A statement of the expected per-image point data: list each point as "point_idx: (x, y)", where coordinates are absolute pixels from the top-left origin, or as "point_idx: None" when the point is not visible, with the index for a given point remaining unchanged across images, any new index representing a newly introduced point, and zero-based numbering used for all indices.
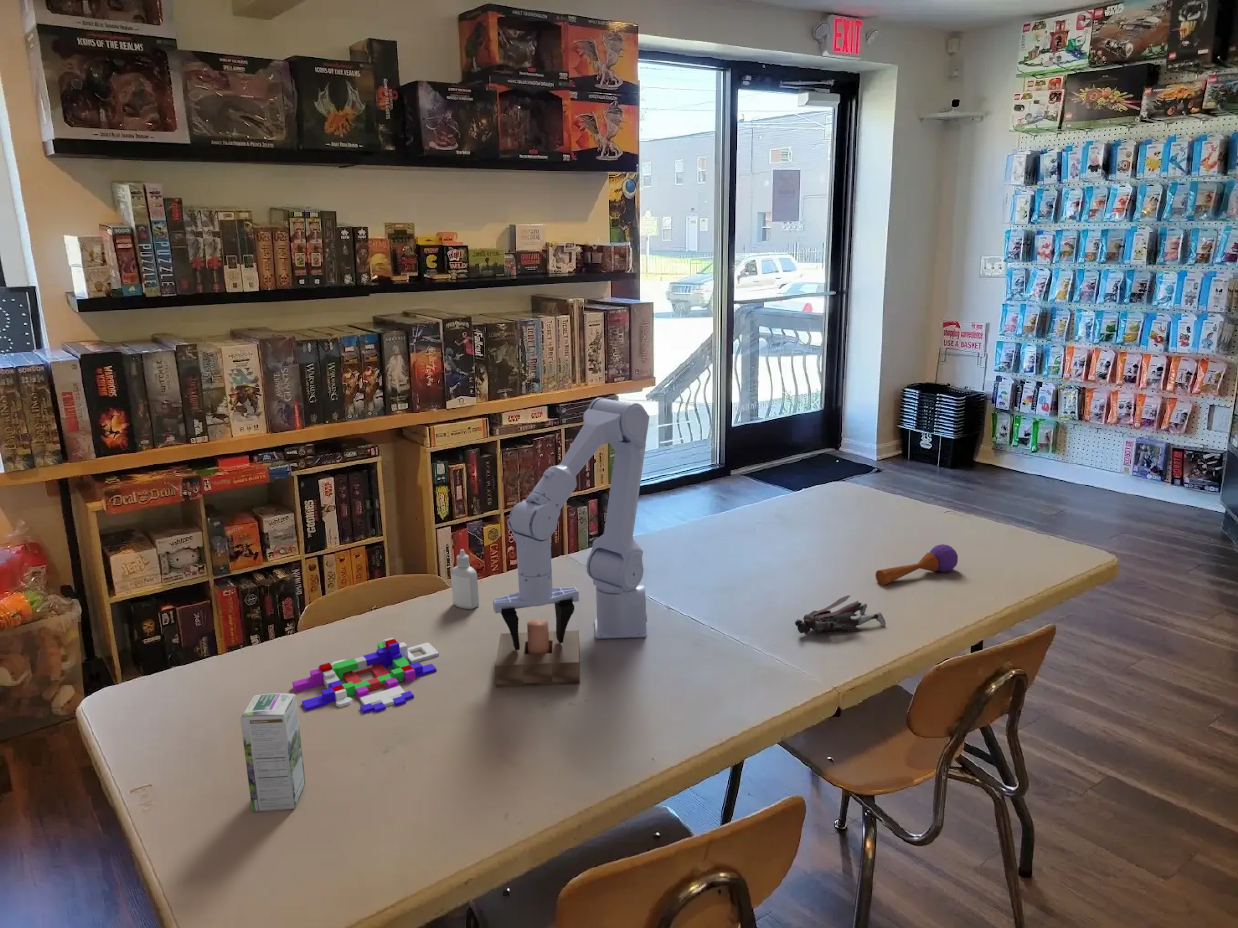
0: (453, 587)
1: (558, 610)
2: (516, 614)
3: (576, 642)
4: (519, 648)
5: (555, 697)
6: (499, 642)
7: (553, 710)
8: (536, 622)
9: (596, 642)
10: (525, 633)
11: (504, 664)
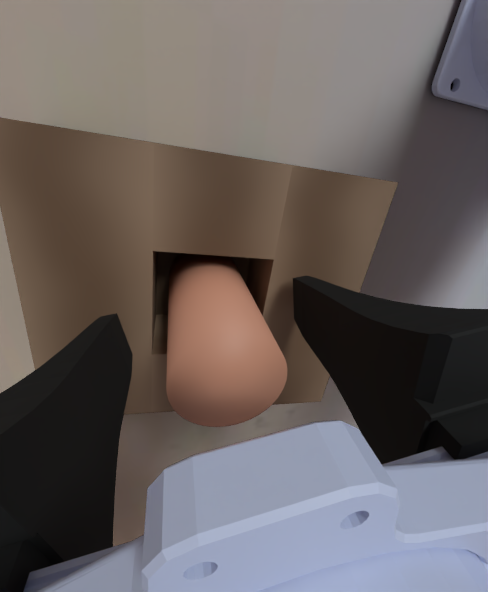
0: None
1: (383, 418)
2: (85, 554)
3: (352, 287)
4: (131, 360)
5: None
6: (10, 241)
7: (222, 441)
8: (223, 372)
9: (417, 118)
10: (148, 155)
11: None
